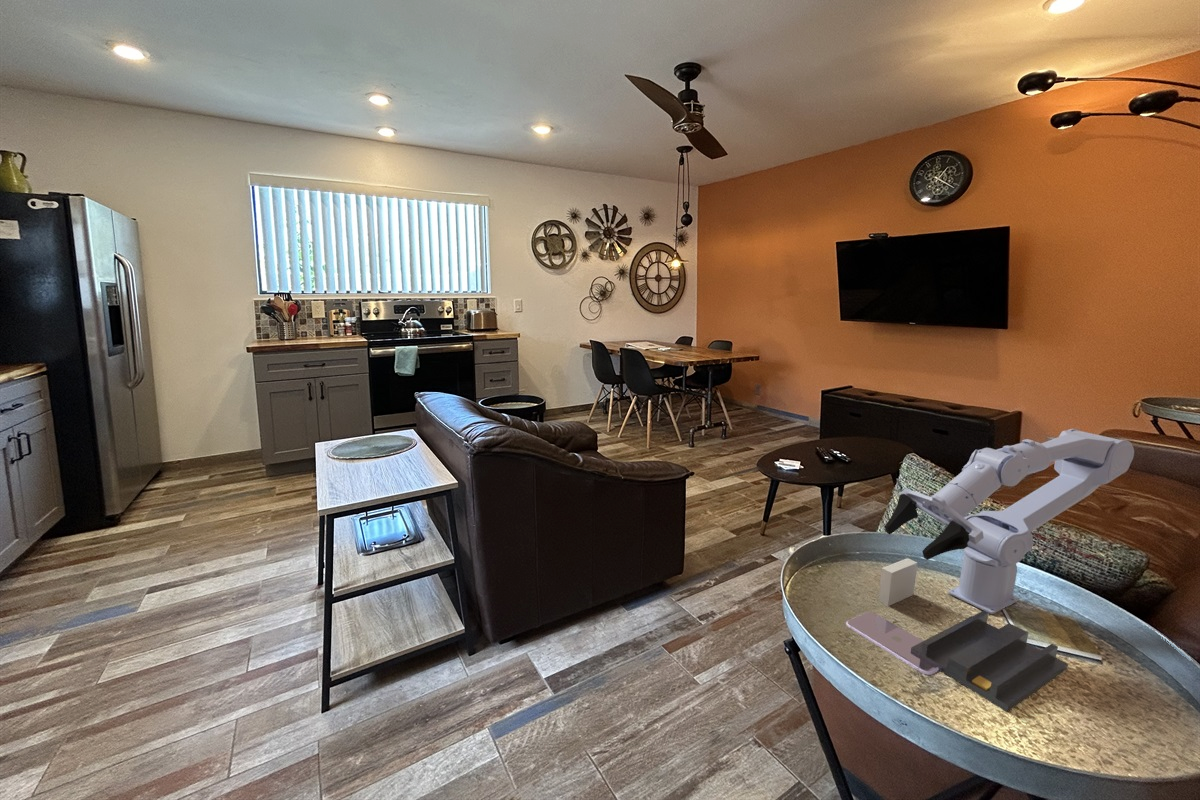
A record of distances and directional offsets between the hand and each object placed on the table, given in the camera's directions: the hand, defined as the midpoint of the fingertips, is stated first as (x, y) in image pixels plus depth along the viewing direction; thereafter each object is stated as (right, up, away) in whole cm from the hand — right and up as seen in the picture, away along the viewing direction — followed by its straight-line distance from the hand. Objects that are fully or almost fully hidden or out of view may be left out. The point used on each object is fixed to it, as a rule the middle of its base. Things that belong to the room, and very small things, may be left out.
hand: (905, 542), depth 92 cm
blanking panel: (+4, -13, +9) cm, 17 cm away
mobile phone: (-4, -17, -3) cm, 17 cm away
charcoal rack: (+8, -17, -8) cm, 21 cm away
